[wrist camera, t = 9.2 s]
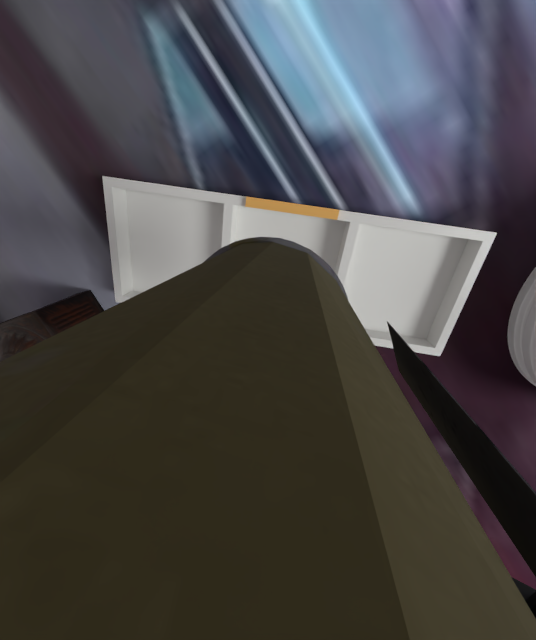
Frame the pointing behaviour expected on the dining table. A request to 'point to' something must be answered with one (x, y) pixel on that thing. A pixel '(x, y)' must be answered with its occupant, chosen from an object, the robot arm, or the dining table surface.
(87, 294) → the pepper mill
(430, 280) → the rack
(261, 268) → the canister
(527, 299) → the plate stack
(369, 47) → the dining table surface
